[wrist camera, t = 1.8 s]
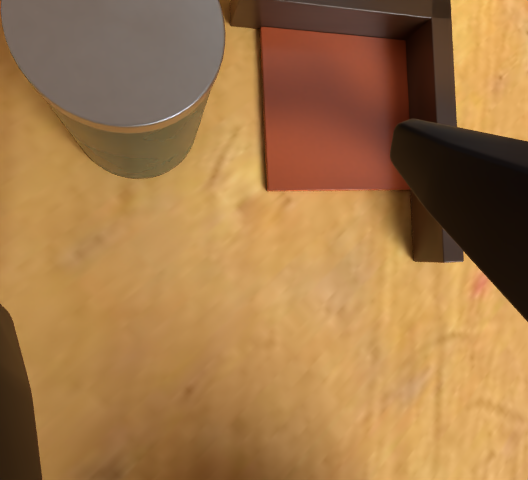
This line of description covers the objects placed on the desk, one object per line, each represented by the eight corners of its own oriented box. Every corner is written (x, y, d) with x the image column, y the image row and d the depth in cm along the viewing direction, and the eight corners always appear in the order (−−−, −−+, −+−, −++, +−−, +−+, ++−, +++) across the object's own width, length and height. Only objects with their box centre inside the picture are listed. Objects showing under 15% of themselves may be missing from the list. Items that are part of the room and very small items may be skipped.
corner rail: (431, 260, 23) (464, 261, 21) (241, 271, 20) (252, 274, 18) (420, 23, 23) (450, -3, 21) (229, 2, 20) (239, -31, 18)
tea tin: (212, 163, 20) (250, 103, 12) (92, 193, 18) (40, 148, 10) (177, 49, 20) (191, -95, 11) (53, 71, 18) (-33, -75, 10)
